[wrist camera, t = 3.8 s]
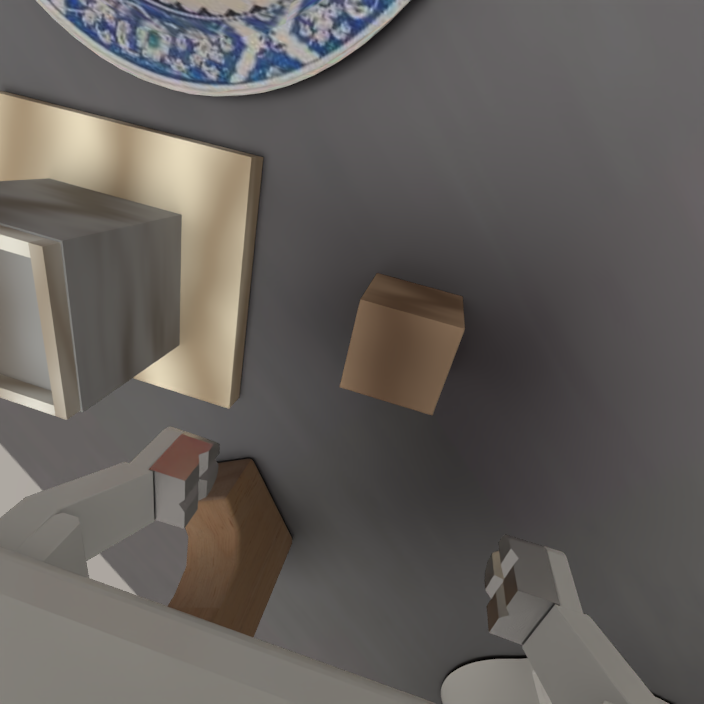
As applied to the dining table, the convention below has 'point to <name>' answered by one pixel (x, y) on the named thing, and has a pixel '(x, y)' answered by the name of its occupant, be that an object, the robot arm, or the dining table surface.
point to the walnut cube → (403, 343)
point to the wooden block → (233, 551)
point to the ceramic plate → (223, 38)
